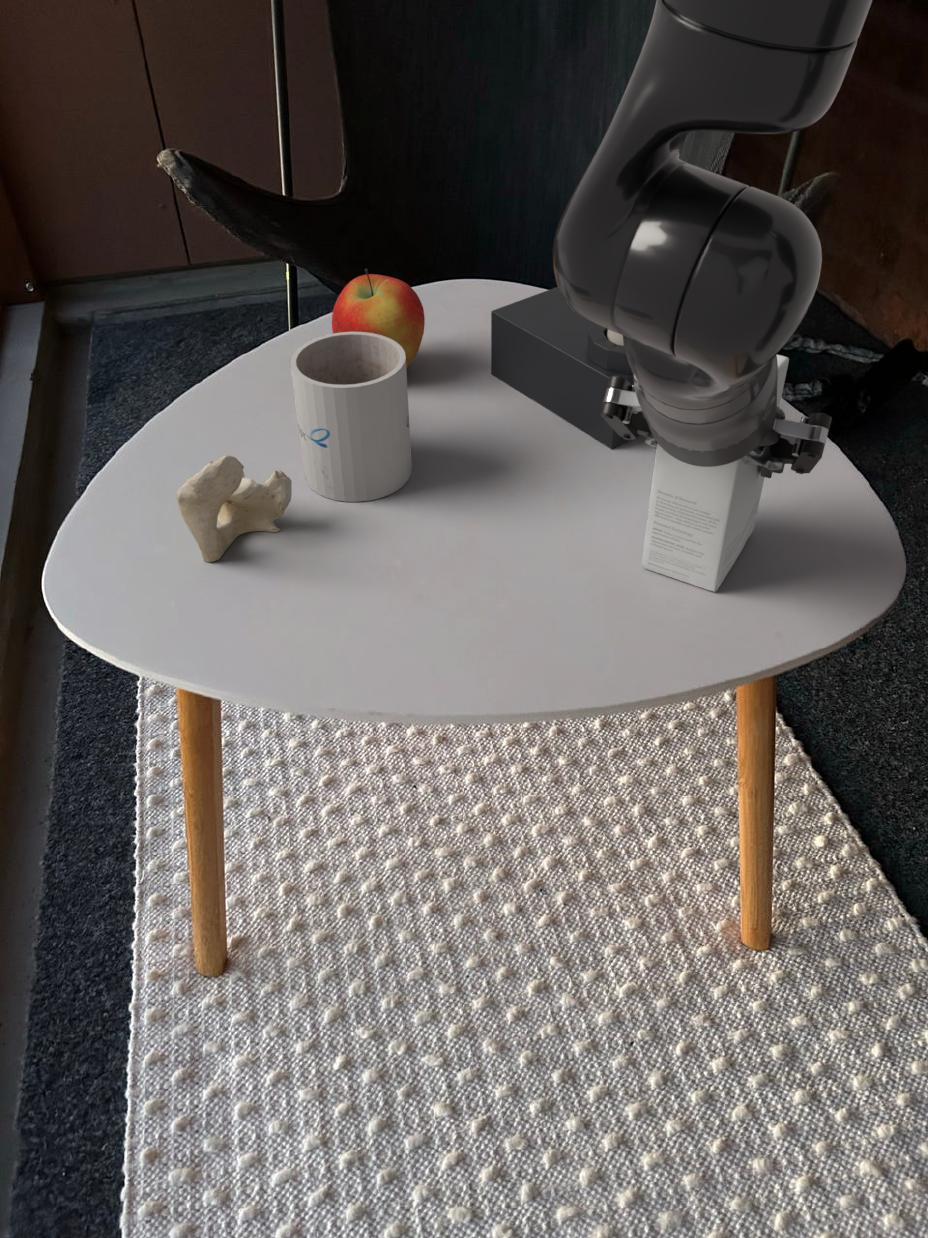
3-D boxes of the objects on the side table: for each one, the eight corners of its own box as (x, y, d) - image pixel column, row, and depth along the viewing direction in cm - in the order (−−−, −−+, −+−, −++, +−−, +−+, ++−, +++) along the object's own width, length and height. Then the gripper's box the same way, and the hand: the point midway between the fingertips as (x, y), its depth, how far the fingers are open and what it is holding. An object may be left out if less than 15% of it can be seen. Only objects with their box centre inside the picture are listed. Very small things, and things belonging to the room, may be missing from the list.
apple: (443, 375, 99) (440, 269, 92) (367, 402, 96) (358, 295, 89) (396, 341, 104) (390, 239, 97) (322, 365, 101) (310, 261, 94)
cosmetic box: (681, 512, 83) (705, 331, 73) (758, 534, 81) (793, 351, 71) (637, 572, 78) (657, 386, 68) (718, 598, 75) (750, 409, 65)
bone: (264, 466, 85) (271, 401, 76) (303, 534, 84) (315, 477, 75) (163, 508, 82) (157, 446, 73) (201, 580, 81) (201, 525, 72)
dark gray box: (701, 412, 94) (714, 326, 88) (616, 452, 89) (625, 364, 84) (572, 341, 104) (577, 260, 98) (490, 374, 99) (490, 291, 94)
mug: (421, 493, 85) (415, 379, 79) (311, 508, 84) (296, 394, 77) (393, 413, 94) (386, 305, 88) (294, 426, 93) (279, 317, 86)
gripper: (858, 338, 58) (838, 420, 74) (597, 296, 62) (632, 383, 78) (823, 475, 58) (811, 527, 74) (564, 424, 62) (606, 484, 78)
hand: (719, 453), depth 76 cm, fingers closed on cosmetic box, 6 cm apart
